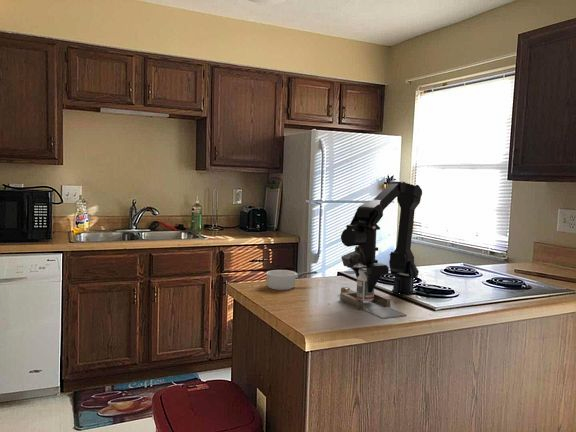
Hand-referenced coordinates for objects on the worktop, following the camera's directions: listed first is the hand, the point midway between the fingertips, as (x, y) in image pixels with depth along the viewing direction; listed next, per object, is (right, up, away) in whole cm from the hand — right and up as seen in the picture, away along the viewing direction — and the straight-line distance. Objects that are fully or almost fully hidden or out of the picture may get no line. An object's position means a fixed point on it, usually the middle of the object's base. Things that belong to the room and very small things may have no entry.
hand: (365, 290), depth 160 cm
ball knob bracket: (-2, -4, +4) cm, 6 cm away
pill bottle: (0, -3, 0) cm, 3 cm away
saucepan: (-24, -2, +21) cm, 32 cm away
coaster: (+5, -6, -11) cm, 13 cm away
